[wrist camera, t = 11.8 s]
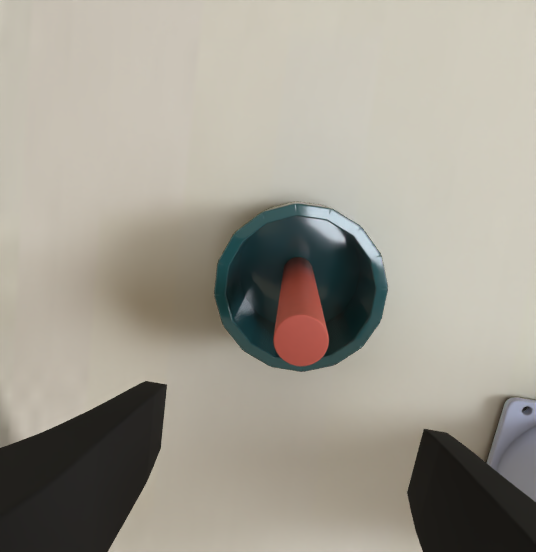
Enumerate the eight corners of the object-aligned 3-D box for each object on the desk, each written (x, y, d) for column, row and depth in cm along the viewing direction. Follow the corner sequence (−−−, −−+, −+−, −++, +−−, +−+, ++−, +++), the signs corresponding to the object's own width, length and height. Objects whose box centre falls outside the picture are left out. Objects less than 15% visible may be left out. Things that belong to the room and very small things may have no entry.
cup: (378, 212, 19) (403, 218, 15) (352, 342, 21) (368, 382, 16) (240, 192, 20) (225, 192, 15) (224, 322, 21) (206, 357, 17)
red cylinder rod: (315, 259, 19) (333, 319, 10) (310, 287, 20) (323, 370, 11) (285, 254, 20) (277, 310, 10) (281, 283, 20) (269, 362, 11)
